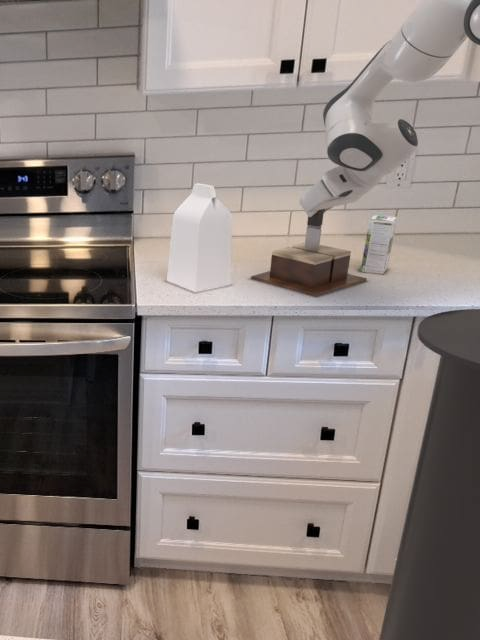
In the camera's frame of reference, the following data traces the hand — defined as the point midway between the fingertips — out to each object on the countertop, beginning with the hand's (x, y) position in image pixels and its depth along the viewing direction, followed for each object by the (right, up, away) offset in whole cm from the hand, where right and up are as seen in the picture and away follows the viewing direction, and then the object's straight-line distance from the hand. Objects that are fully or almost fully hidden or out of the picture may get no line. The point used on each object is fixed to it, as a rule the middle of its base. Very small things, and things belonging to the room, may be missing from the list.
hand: (313, 213), depth 176 cm
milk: (-27, -17, +9) cm, 33 cm away
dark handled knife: (+1, -10, +4) cm, 11 cm away
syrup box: (+21, -13, +11) cm, 28 cm away
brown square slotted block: (+1, -16, +7) cm, 18 cm away
